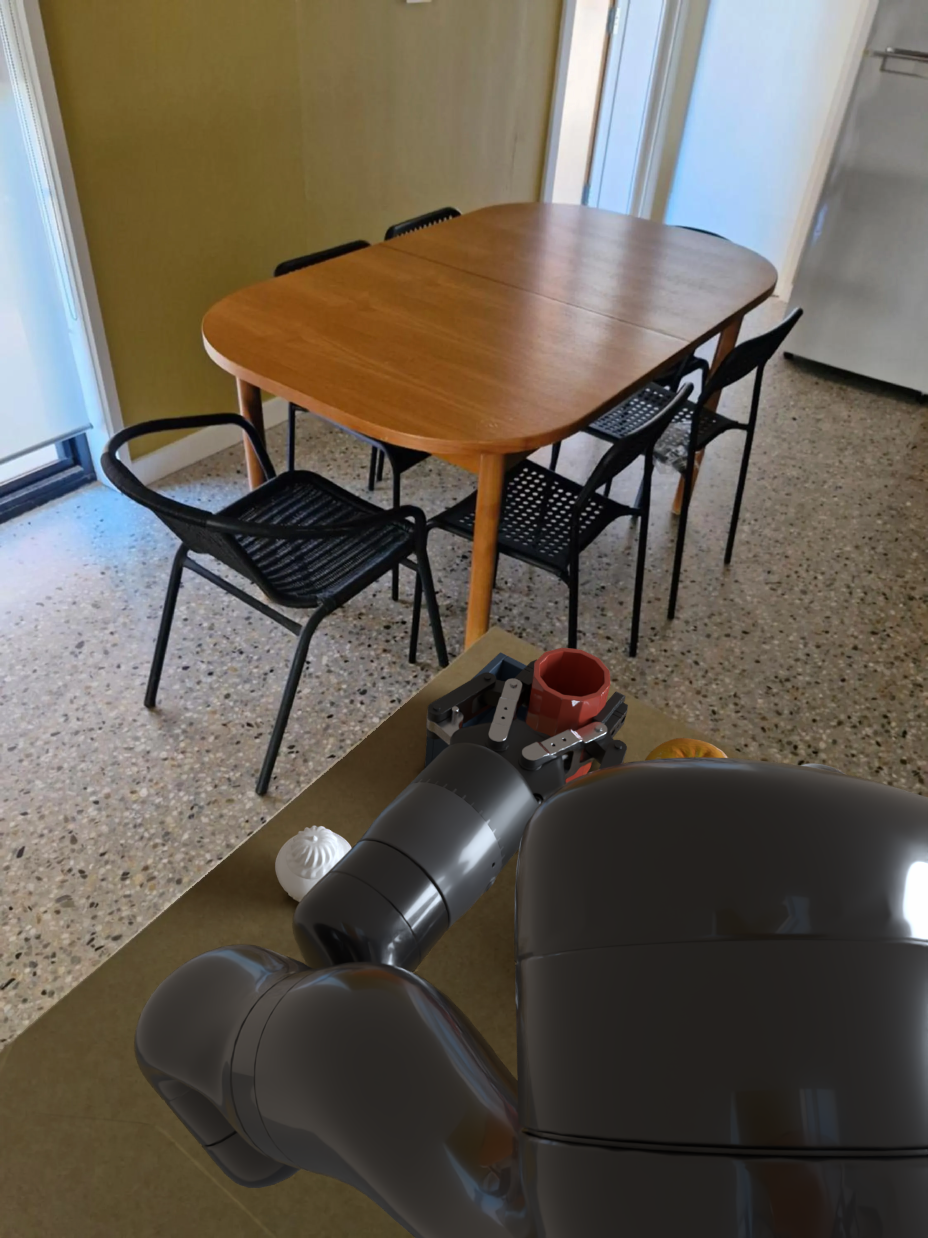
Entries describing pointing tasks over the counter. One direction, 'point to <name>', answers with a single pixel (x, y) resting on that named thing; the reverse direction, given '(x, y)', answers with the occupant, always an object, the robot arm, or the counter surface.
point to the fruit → (685, 749)
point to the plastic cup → (566, 693)
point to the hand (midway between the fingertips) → (583, 684)
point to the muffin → (308, 859)
